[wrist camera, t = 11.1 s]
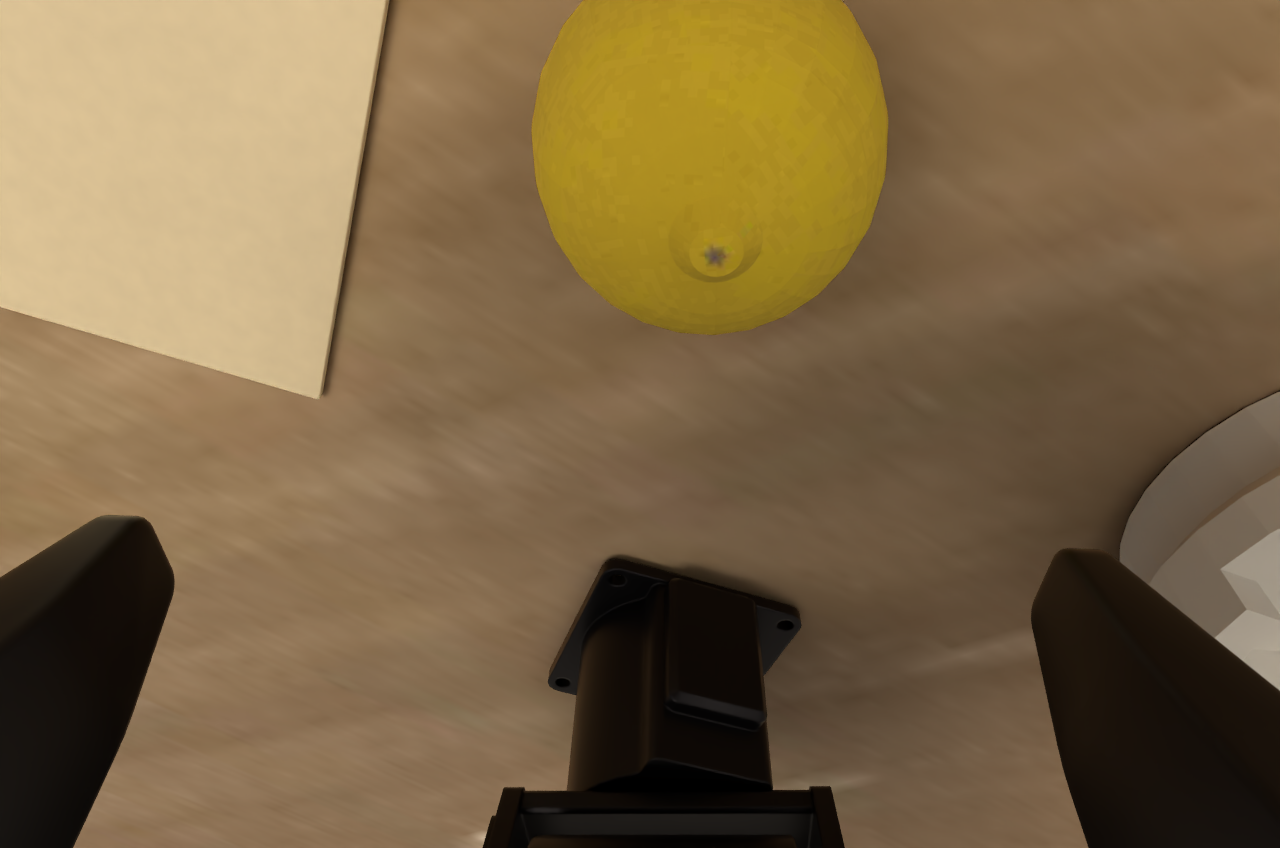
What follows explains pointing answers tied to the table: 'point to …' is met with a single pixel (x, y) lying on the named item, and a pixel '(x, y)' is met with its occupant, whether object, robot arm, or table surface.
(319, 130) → the wooden plank
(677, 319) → the lemon
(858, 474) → the table surface
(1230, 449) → the flag stand
